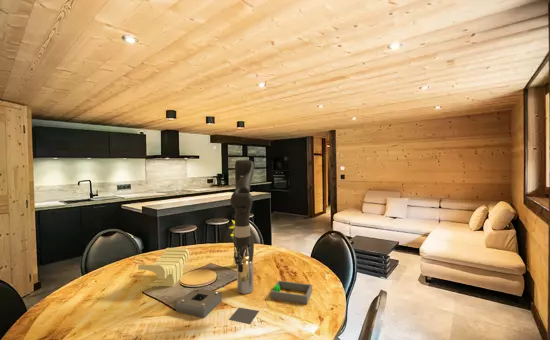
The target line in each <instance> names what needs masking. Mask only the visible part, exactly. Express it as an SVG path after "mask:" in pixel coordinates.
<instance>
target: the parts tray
mask: <svg viewBox="0 0 550 340" xmlns="http://www.w3.org/2000/svg"><path fill="white" fill-rule="evenodd" d="M275 285H280V289H283V290H290V291H297V292H298V291H299V292H304V293H305V292H306V294H305V295H304V294H298V293H297V294H296V293H292V292H291V293H290V292H283V291H280V292H278V291H274V287H273V288H272V289H271V290H270V299H271V300H278V301H284V302H290V303H297V304H302V305H303V304H304V305H308V304H309V301H310V298H311V295H312V294H313V284H310V283H309V284H307V283H300V282H293V281H285V280H277V282H276V283H275Z"/></svg>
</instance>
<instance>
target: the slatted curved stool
mask: <svg viewBox="0 0 550 340" xmlns="http://www.w3.org/2000/svg"><path fill="white" fill-rule="evenodd" d="M188 260H190V252H189V250H188V249H187V248H186V247H185V248H184V247H167V248H165V250H164V252H163V253H162V254H161V255H160V257H159V258H158V259H157V260H156V261H155V262H153V263H151V264H137V265H138V267H137V270H140V271H148V272H152V273H153V274H155V275H156V279H155V280H154V281H152V282H151V283H150V284H148V286H149V287H159V286H173V287H174V286H175V285H176V284H177V283H179V282H180V281H181V280H180V278H181V277H182V278H183V275H184V274H183V273H184V272H183V271H184V265H185V263H186V262H187V261H188ZM179 280H180V281H179Z"/></svg>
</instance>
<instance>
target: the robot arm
mask: <svg viewBox="0 0 550 340" xmlns="http://www.w3.org/2000/svg"><path fill="white" fill-rule="evenodd" d="M254 172H255V164H254V161H253V160H247V159H244V160H242V159H239V160H236V161H235V162H234V180H235V181H234V182H235V190H234V191H233V193H231V194H232V195H231V196H230V205H231V207H232V208H234V221H235V228H234V229H233V231H234V233H233V234H234V236H232V238H233V239H232V243H233V247H234V246H235V249H236V248H237V252H234V251H233V259H234V265H236V264H237V267H236V272H237V273H236V276H237V277H236V282H237V283H236V285H237V287H236V288H237V289H236V290H237V292H238V293H239V294H250V293H252V292H253V291H254V253H255V252H254V251H255V250H254V249H255V247H254V246H255V238H254V235H253V234H252V233H251V227H250V213H251V210H252V205H253V202H254V197H253V195H252V194H251V191H250V190H251V183H252V180H253V176H254V174H255V173H254ZM245 255H249V260H248V264H249V280H247V281H239V280H238V272H243V259H244V257H245ZM240 256H242V257H240Z"/></svg>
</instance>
